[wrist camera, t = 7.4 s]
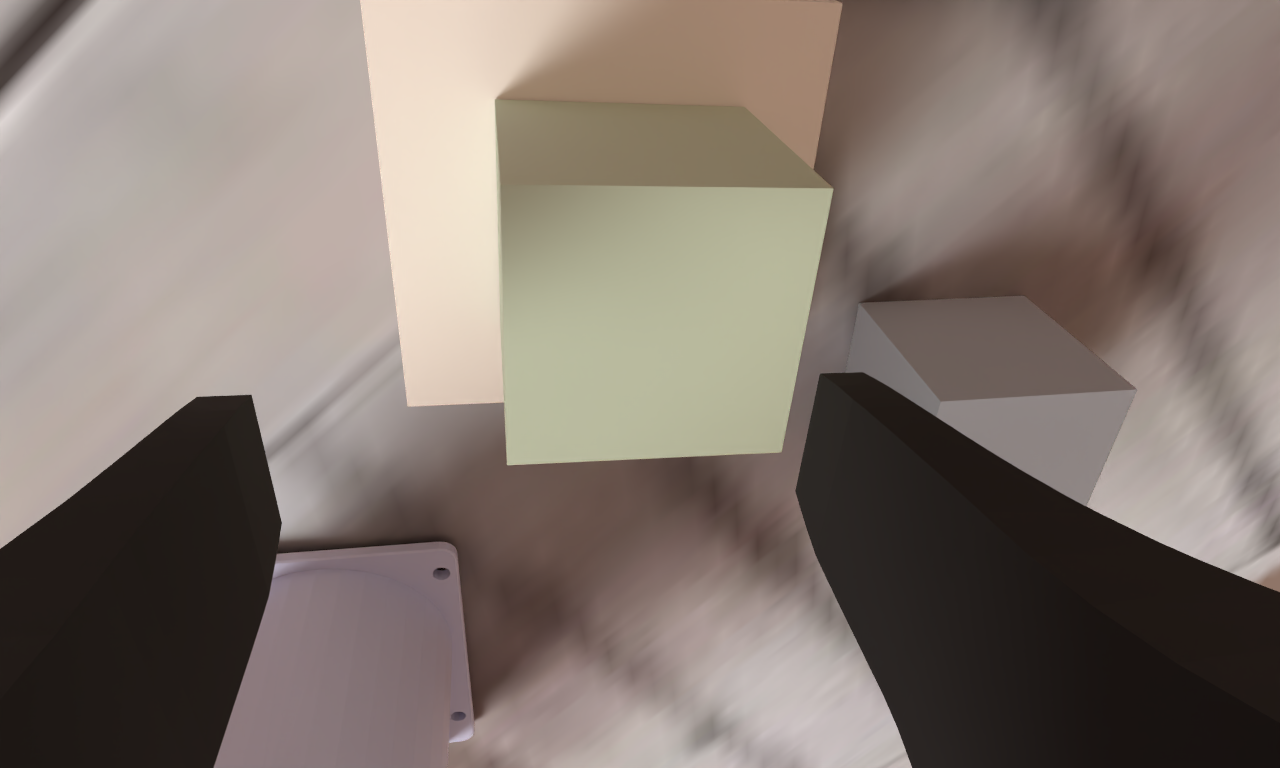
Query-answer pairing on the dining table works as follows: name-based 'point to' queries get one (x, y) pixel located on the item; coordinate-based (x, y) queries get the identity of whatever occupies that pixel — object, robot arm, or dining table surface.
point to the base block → (545, 71)
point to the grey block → (1000, 381)
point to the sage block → (650, 279)
